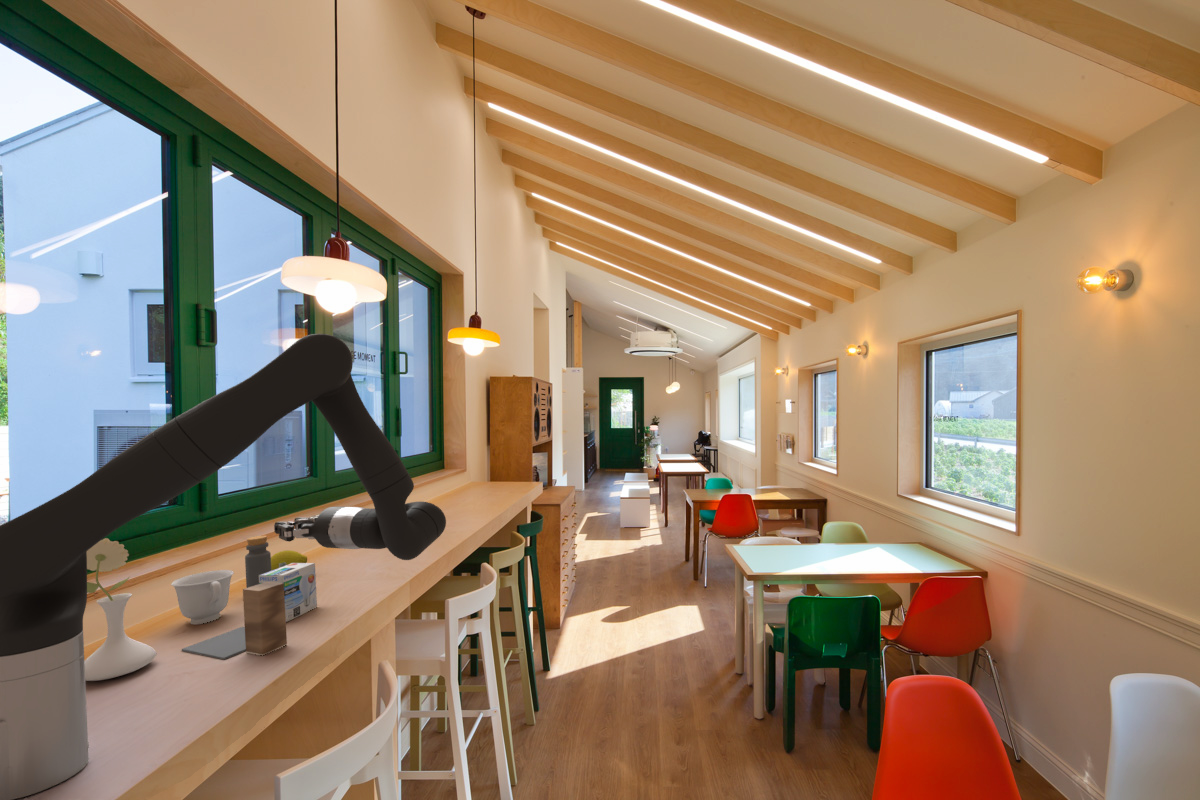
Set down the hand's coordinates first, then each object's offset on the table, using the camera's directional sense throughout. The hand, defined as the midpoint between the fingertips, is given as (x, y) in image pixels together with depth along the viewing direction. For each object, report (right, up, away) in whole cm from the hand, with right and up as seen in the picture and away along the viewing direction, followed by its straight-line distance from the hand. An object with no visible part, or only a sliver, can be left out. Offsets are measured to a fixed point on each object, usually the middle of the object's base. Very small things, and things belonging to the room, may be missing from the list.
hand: (286, 525), depth 109 cm
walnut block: (-4, -24, 0) cm, 25 cm away
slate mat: (-13, -25, +5) cm, 29 cm away
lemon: (-30, -28, +54) cm, 68 cm away
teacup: (-29, -27, +20) cm, 44 cm away
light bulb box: (-11, -26, +20) cm, 34 cm away
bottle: (-29, -27, +39) cm, 56 cm away
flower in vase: (-28, -26, -6) cm, 39 cm away
